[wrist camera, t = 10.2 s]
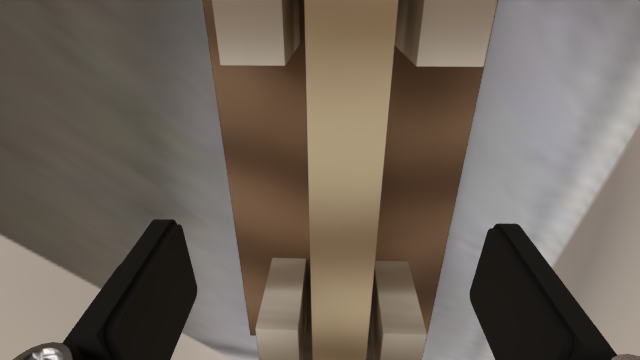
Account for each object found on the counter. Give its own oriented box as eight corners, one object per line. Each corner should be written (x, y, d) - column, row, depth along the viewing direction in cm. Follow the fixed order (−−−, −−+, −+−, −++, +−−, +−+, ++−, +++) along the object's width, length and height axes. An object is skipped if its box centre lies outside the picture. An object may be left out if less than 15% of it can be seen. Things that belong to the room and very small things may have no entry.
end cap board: (190, -162, 13) (85, -269, 8) (519, -169, 13) (657, -287, 7) (254, 320, 26) (231, 411, 20) (422, 326, 25) (445, 420, 20)
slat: (316, -38, 14) (303, -55, 9) (378, -39, 14) (403, -56, 8) (319, 295, 22) (313, 390, 17) (357, 296, 22) (363, 392, 17)
